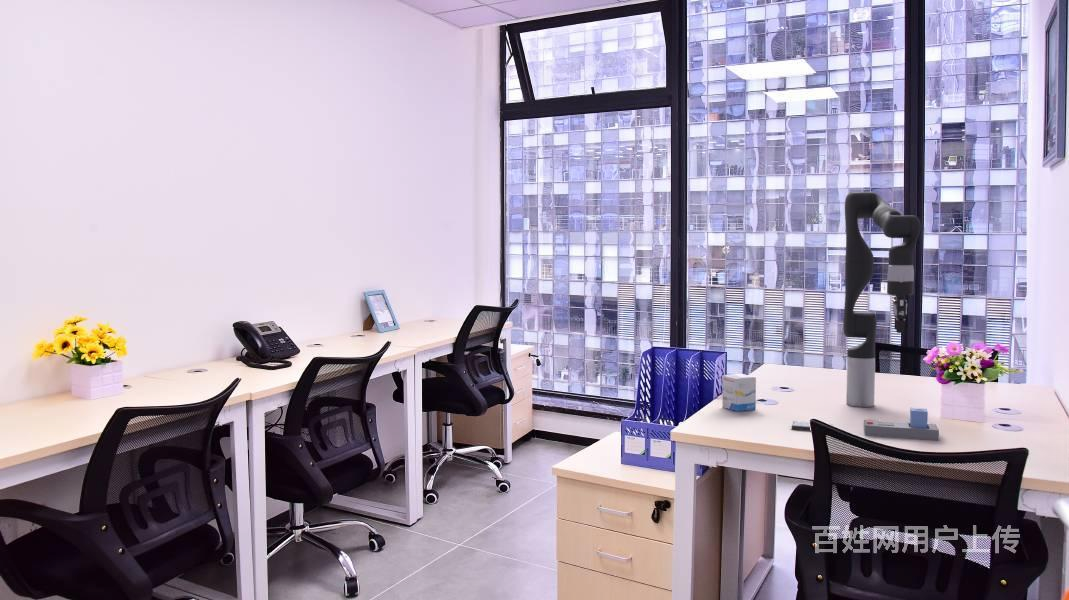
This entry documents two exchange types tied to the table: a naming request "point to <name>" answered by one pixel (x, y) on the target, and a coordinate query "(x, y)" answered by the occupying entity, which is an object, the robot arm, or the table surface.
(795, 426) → the phone slab
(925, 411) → the block
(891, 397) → the table surface
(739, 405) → the ink box
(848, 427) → the table surface
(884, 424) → the power strip
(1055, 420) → the table surface
